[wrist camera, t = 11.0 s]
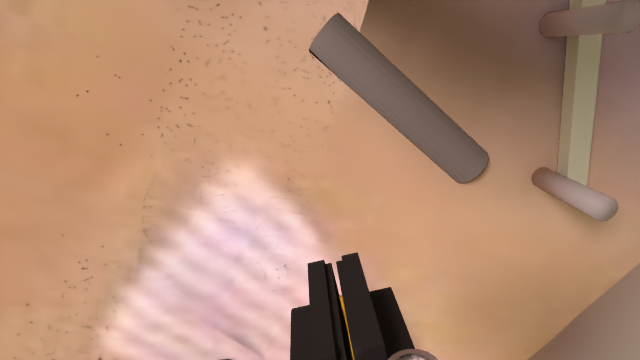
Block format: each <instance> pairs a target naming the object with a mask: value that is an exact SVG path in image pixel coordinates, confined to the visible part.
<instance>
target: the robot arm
mask: <svg viewBox="0 0 640 360" xmlns="http://www.w3.org/2000/svg"><path fill="white" fill-rule="evenodd" d="M336 264H337V269H338V275H339V280H340V286H341V291H342V297H343V302H344V308H345V313H346V319H347V324H348V330H349V334H348V330H347V325H346V321H345V317H344V313H343V309H342V305H341V301H340V297H339V292H338V288H337V284H336V280H335V276H334V272H333V268H332V264H331V263H328V264H325V262H324V260H321V261H317V262H312V263H308V280H309V301H310V305H307V306H302V307H298V308H293V309H292V311H291V347H290V360H353V356H354V360H438V359H437V358H436V357H435V356H433V355H432V354H430V353H428V352H426V351H423V350H419V349H415V348H414V345H413V342H412V340H411V337H410V335H409V332H408V330H407V327H406V324H405V322H404V319H403V317H402V314H401V312H400V309H399V306H398V304H397V301H396V299H395V296H394V294H393V291H392V289H391V287H388V288H384V289H379V290H375V291H370V292H369V290H368V286H367V283H366V280H365V276H364V273H363V269H362V266H361V263H360V259H359V256H358V253H353V254H348V255H344V256H342V261H337V262H336ZM349 335H350V339H349ZM350 341H351V345H350ZM351 346H352V351H353V356H352V351H351Z"/></svg>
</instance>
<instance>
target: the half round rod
mask: <svg viewBox="0 0 640 360" xmlns="http://www.w3.org/2000/svg"><path fill="white" fill-rule="evenodd" d="M309 52H310V53H311V54H313V55H314V56H315V57H316V58H317V59H318V60H319V61H320V62H322V63H323V64H324V65H325V66H326V67H327V68H328V69H329V70H331V71H332V72H333V73H334V74H335V75H336V76H337V77H338V78H340V79H341V80H342V81H343V82H344V83H345V84H346V85H348V86H349V87H350V88H351V89H352V90H353V91H354V92H355V93H357V94H358V95H359V96H360V97H361V98H362V99H363V100H364V101H366V102H367V103H368V104H369V105H370V106H371V107H372V108H374V109H375V110H376V111H377V112H378V113H379V114H380V115H381V116H383V117H384V118H385V119H386V120H387V121H388V122H389V123H390V124H392V125H393V126H394V127H395V128H396V129H397V130H398V131H399V132H401V133H402V134H403V135H404V136H405V137H406V138H407V139H409V140H410V141H411V142H412V143H413V144H414V145H415V146H416V147H418V148H419V149H420V150H421V151H422V152H423V153H424V154H425V155H427V156H428V157H429V158H430V159H431V160H432V161H433V162H435V163H436V164H437V165H438V166H439V167H440V168H441V169H442V170H444V171H445V172H446V173H447V174H448V175H449V176H450V177H451V178H453V179H454V180H455V181H456V182H457V183H466V182H469V181H471V180H472V179H474V178H475V177H477V176H478V175H479V174H480V173H481V172H482V171H483V169H484V168H485V166H486V165H487V162H488V154H487V152H486V151H485V150H484V149H483V148H482V147H480V146H479V145H478V144H477V143H476V142H475V141H474V140H473V139H472V138H471V137H470V136H469V135H468V134H467V133H466V132H465V131H463V130H462V129H461V128H460V127H459V126H458V125H457V124H456V123H455V122H454V121H453V120H452V119H451V118H450V117H449V116H448V115H447V114H445V113H444V112H443V111H442V110H441V109H440V108H439V107H438V106H437V105H436V104H435V103H434V102H433V101H432V100H431V99H430V98H428V97H427V96H426V95H425V94H424V93H423V92H422V91H421V90H420V89H419V88H418V87H417V86H416V85H415V84H414V83H413V82H411V81H410V80H409V79H408V78H407V77H406V76H405V75H404V74H403V73H402V72H401V71H400V70H399V69H398V68H397V67H396V66H395V65H393V64H392V63H391V62H390V61H389V60H388V59H387V58H386V57H385V56H384V55H383V54H382V53H381V52H380V51H379V50H378V49H376V48H375V47H374V46H373V45H372V44H371V43H370V42H369V41H368V40H367V39H366V38H365V37H364V36H363V35H362V34H361V33H359V32H358V31H357V30H356V29H355V28H354V27H353V26H352V25H351V24H350V23H349V22H348V21H347V20H346V19H345V18H344V17H343V16H341V15H340V14H339V13H338V14H335V15H334V16H333V17H332V18H331V19H330V20H329V21H328V22H327V23H326V24H325V25H324V27H323V28H322V29H321V31H320V32H319V33H318V34H317V36H316V37H315V39H314V40H313V42H312V44H311V45H310V49H309Z"/></svg>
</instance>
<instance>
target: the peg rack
mask: <svg viewBox="0 0 640 360" xmlns="http://www.w3.org/2000/svg"><path fill="white" fill-rule="evenodd" d="M639 25H640V1H638V0H626V1H620V2H614V3H607V4H606V0H570V2H569V10H563V11H557V12H551V13H548V14H546V15H545V16H544V17H543V18H542V20H541V22H540V26H539V29H540V32H541V34H542V35H543V36H545V37H562V36H567V43H566V56H565V70H564V83H563V97H562V110H561V124H560V137H559V151H558V164H557V172H555V171H553V170H551V169H549V168H546V167H542V168H539V169H537V170H536V171H535V172H534V173H533V175H532V182H533V184H534V185H536V186H537V187H539V188H541V189H543V190H545V191H546V192H548V193H550V194H552V195H553V196H555V197H557V198H559V199H561V200H562V201H564V202H566V203H568V204H569V205H571V206H573V207H575V208H577V209H578V210H580V211H582V212H584V213H586V214H587V215H589V216H591V217H593V218H594V219H596V220H598V221H606V220H608V219H610V218H612V217H613V216H614V215H615V213H616V212H617V209H618V203H617V201H616V200H615V199H613V198H611V197H609V196H607V195H605V194H603V193H600V192H598V191H596V190H594V189H592V188H590V187H587V180H588V171H589V161H590V152H591V142H592V132H593V123H594V113H595V103H596V94H597V84H598V74H599V65H600V55H601V46H602V36H603V34H612V33H628V32H631V31H633V30H635V29H636V28H637V27H638V26H639Z"/></svg>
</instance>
